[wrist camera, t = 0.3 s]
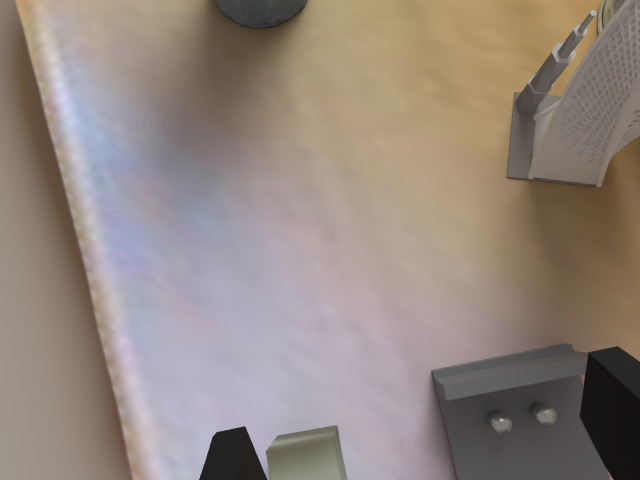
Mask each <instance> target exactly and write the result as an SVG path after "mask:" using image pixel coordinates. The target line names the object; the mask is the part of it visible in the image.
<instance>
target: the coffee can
mask: <svg viewBox="0 0 640 480" xmlns="http://www.w3.org/2000/svg"><path fill="white" fill-rule="evenodd" d="M625 1H626V0H603V1H602V3H601V6H600V8H599V13H598V23H597V24H598V34H600V33H601V31H602V30H603V29H604V27H605V26H606V24H607V23H608V22H609V21H610V19H611V18H612V17H613V16H614V14H615V13H616V12H617V11H618V10H619V8H620V7H621V6H622V5H623V3H624V2H625Z"/></svg>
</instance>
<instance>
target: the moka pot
mask: <svg viewBox="0 0 640 480" xmlns="http://www.w3.org/2000/svg"><path fill="white" fill-rule="evenodd" d="M215 1H216V4H217V7H218V9H219V10H220V11H221V12H222V13H223V14H224V15H226V16H227V17H228V18H230V19H232V20H233V21H235V22H237V23H238V24H240V25H243V26H246V27H252V28H267V27H273V26H277V25H280V24H282V23H283V22H285V21H287V20H289V19H290V18H291V17H293V16H294V15H295V14H296V13H297V12H298V11H299V10H301V9H302V8H303V6H304V5H305V3H306V1H307V0H215Z"/></svg>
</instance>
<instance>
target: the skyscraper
mask: <svg viewBox="0 0 640 480" xmlns="http://www.w3.org/2000/svg"><path fill="white" fill-rule="evenodd" d="M596 14H597V13H596V11H594V10H592V11H591V12H590V13H589V15H588V16H587V18H586V19H585V20H584V22H583V23H582V24H581V25H579V24H577V26H576V27H575V28H574V29H573V31H572V32H571V34H570V35H569V37H568V38H567V39H566V41H565V42H564V43H558V44H557V45H556V46H555V48H554V49H553V50H552V52H551V54H550V55H549V56H548V58H547V59H546V61H545V62H544V64H543V65H542V66H541V68H540V69H539V71H538V72H537V73H535V74H534V75H533V76H532V78H531V79H530V80H529V82H528V84H527V85H526V87H525V88H524V90H523V91H522V92H521V93H519V92H515V93H514V104H513V115H512V126H511V137H510V148H509V159H508V170H507V177H510V178H519V179H528V180H537V181H546V182H555V183H564V184H573V185H582V186H591V187H596V188H599V187H601V186H602V183H603V180H604V176H605V173H606V170H607V167H608V165H609V162H610V160H611V159H612V158H613V156H614V155H615V154H616V153H617V152H618V151H619V150H621V149H622V148H623V147H624V146H625V145H627V144H628V143H630V142H631V141H632V140H634V139H636V138H637V137H639V136H640V0H626V1H625V2H624V3H623V5H622V6H621V7H620V8H619V10H618V11H617V12H616V13H615V14H614V16H613V17H612V18H611V19H610V21H609V22H608V23H607V24H606V26H605V27H604V29H603V30H602V31H601V33H600V34H599V36H598V37H597V38H596V40H595V41H594V42H593V44H592V45H591V47H590V48H589V50H588V51H587V53H586V54H585V56H584V58H583V59H582V61H581V62H580V64H579V65H578V67H577V69H576V70H575V72H574V74H573V76H572V77H571V79H570V81H569V83H568V84H567V86H566V88H565V90H564V92H563V94H562V96H551V95H547V94H548V93H549V91H550V90H551V89H552V87H553V86H554V82H555V81H556V79H557V78H558V77H559V76H560V75H561V73H562V72H563V71H564V70H565V68H566V67H567V66H568V65H569V63H570V62H571V61H572V59H573V58H574V57H575V55H576V52H575V50H574V48H575V47H576V46H577V45H578V43H579V42H580V41H581V39H582V38H583V37H584V35H585V34H586V33H587V32H588V30H587V28H586V27H587V26H588V24H589V23H590V22H591V20H592V19H593V18H594V16H595V15H596Z"/></svg>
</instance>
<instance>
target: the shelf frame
mask: <svg viewBox="0 0 640 480" xmlns="http://www.w3.org/2000/svg"><path fill="white" fill-rule="evenodd" d="M587 359H588V353H584V352H576V351H573V347H572V344H562V345H557V346H552V347H547V348H542V349H537V350H532V351H527V352H522V353H517V354H512V355H507V356H502V357H497V358H492V359H487V360H481V361H476V362H471V363H466V364H461V365H456V366H451V367H446V368H441V369H436V370H431V371H432V375H433V379H434V384H435V388H436V392H437V397H438V401H439V405H440V410H441V414H442V418H443V423H444V427H445V431H446V436H447V440H448V444H449V449H450V453H451V457H452V462H453V466H454V470H455V474H456V479H457V480H609V476H608V473H607V469H606V467H605V465H604V464H603V462H602V460H601V458H600V456H599V454H598V452H597V450H596V449H595V447H594V445H593V443H592V441H591V439H590V437H589V435H588V433H587V431H586V429H585V427H584V425H583V423H582V421H581V419H580V409H581V402H582V395H583V388H584V387H583V383H582V380H581V376H580V375H581V374H585V373H586V366H587Z"/></svg>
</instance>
